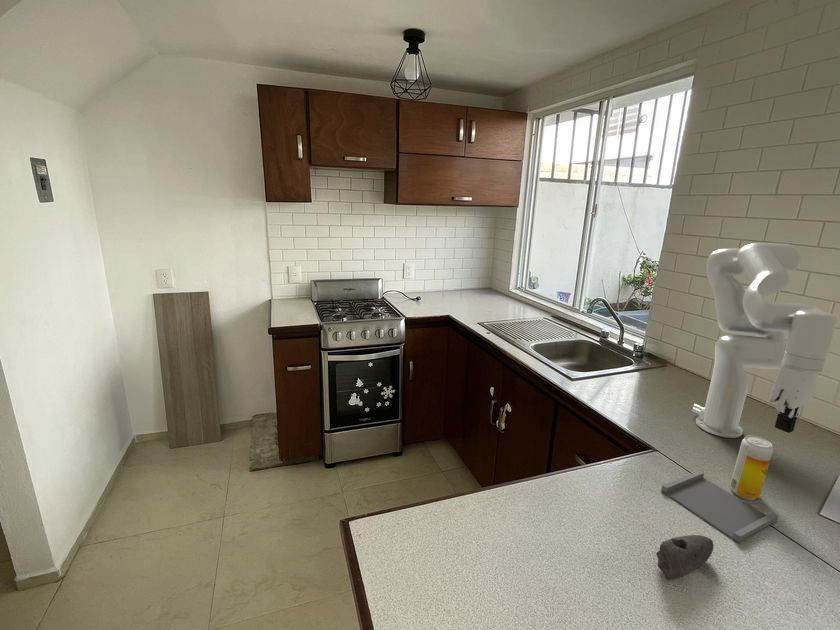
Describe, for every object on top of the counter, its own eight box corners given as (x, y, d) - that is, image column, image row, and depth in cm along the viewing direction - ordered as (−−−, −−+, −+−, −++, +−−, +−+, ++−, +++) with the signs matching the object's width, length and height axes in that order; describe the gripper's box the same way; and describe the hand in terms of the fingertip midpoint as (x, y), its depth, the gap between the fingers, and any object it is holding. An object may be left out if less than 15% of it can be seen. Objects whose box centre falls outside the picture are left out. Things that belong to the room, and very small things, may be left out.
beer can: (765, 501, 103) (781, 448, 99) (740, 501, 103) (755, 448, 99) (747, 485, 109) (761, 434, 105) (723, 484, 109) (737, 434, 105)
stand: (661, 491, 106) (662, 485, 105) (698, 475, 112) (699, 470, 112) (738, 543, 90) (740, 536, 90) (776, 522, 97) (778, 515, 96)
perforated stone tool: (697, 547, 89) (704, 520, 87) (721, 567, 84) (729, 539, 83) (644, 567, 84) (650, 539, 82) (667, 589, 79) (674, 560, 77)
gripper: (800, 352, 107) (782, 417, 112) (767, 360, 101) (749, 428, 105) (838, 362, 100) (817, 430, 105) (805, 371, 94) (785, 443, 99)
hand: (783, 429), depth 105 cm, fingers closed
